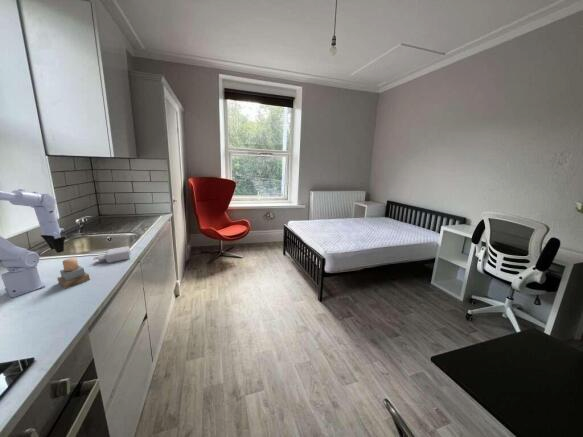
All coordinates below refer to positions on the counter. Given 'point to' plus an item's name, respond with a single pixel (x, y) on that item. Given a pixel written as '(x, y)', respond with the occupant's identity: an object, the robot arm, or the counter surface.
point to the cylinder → (70, 264)
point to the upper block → (72, 273)
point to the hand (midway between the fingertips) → (57, 250)
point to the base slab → (73, 280)
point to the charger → (115, 254)
